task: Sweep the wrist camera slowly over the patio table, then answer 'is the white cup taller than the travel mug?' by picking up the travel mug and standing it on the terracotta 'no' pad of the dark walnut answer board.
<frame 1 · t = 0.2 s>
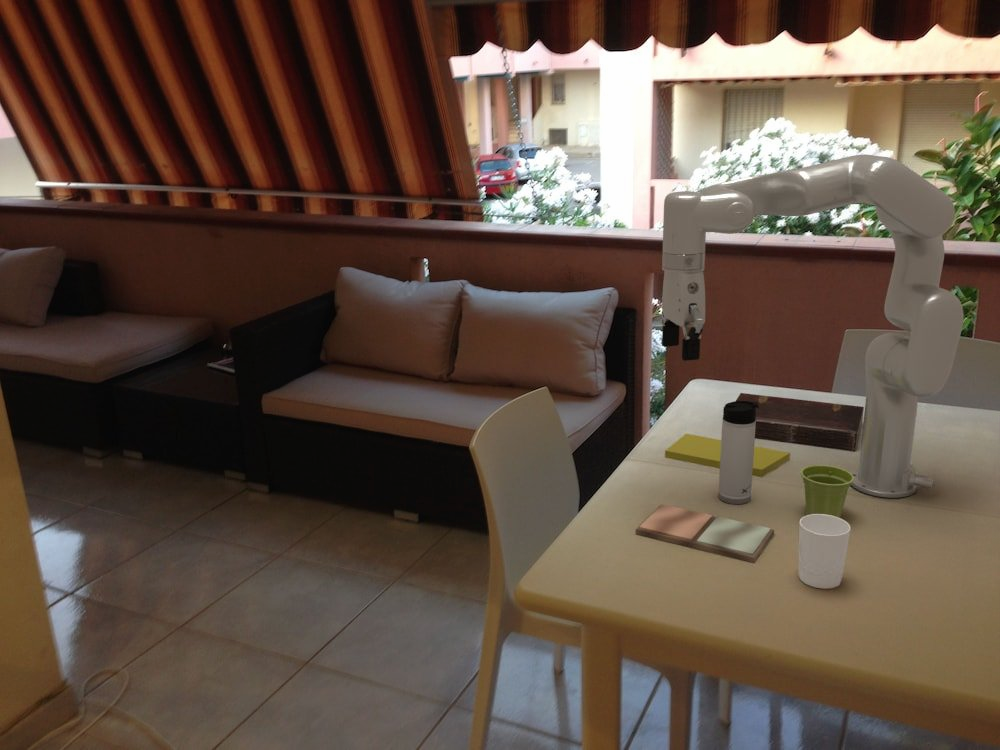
hand: (680, 352, 173), 31 cm above the table, tool pointing down, fingers open, 9 cm apart
answer board: (704, 534, 170), on the table
flat olive board: (726, 461, 205), on the table
travel mug: (735, 499, 185), on the table
white cup: (819, 580, 155), on the table
hardback book: (793, 432, 221), on the table
plant pot: (823, 517, 177), on the table
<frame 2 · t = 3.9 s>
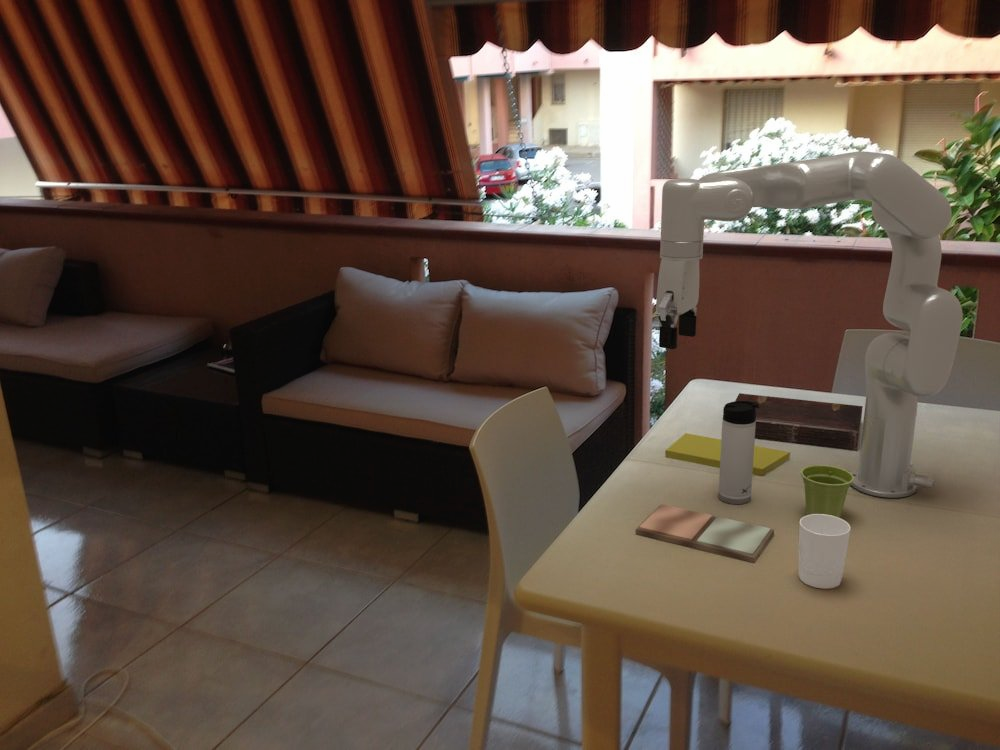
hand: (677, 341, 172), 33 cm above the table, tool pointing down, fingers open, 9 cm apart
nothing on the table moved.
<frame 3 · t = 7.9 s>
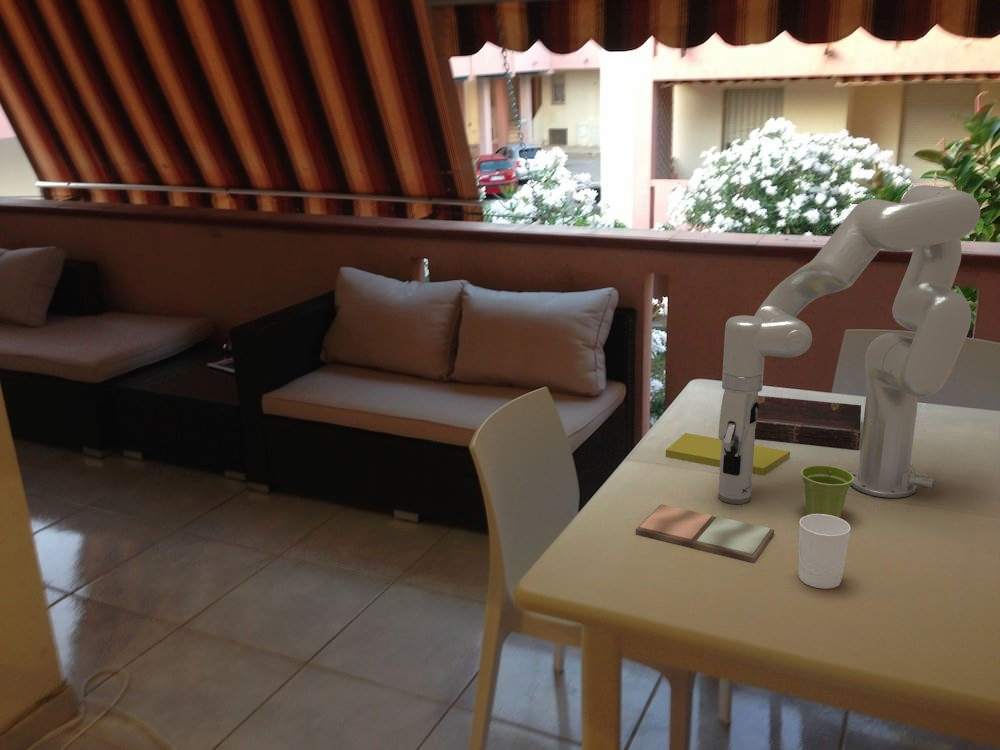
hand: (737, 467, 183), 7 cm above the table, tool pointing down, fingers closed on travel mug, 6 cm apart
travel mug: (735, 498, 185), on the table, touching gripper
everything else where it was.
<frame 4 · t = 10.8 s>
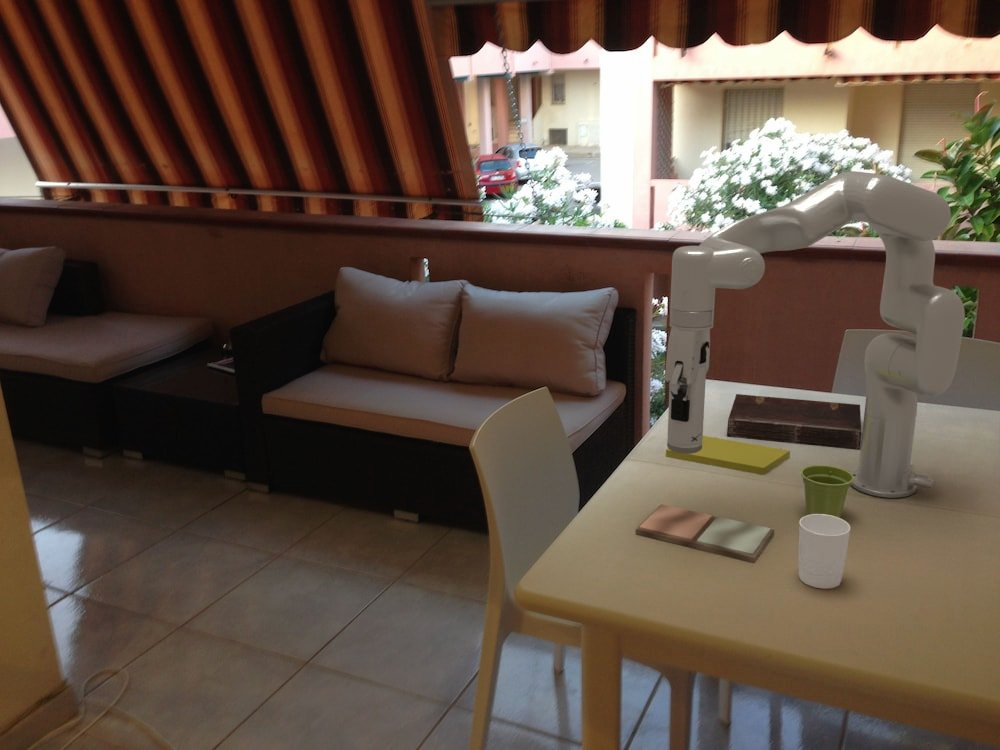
hand: (687, 413, 168), 22 cm above the table, tool pointing down, fingers closed on travel mug, 6 cm apart
travel mug: (685, 448, 170), point 15 cm above the table, touching gripper
everything else where it was.
when the fingers open (9 cm above the table, at t = 13.9 s): travel mug stays where it is, resting on answer board.
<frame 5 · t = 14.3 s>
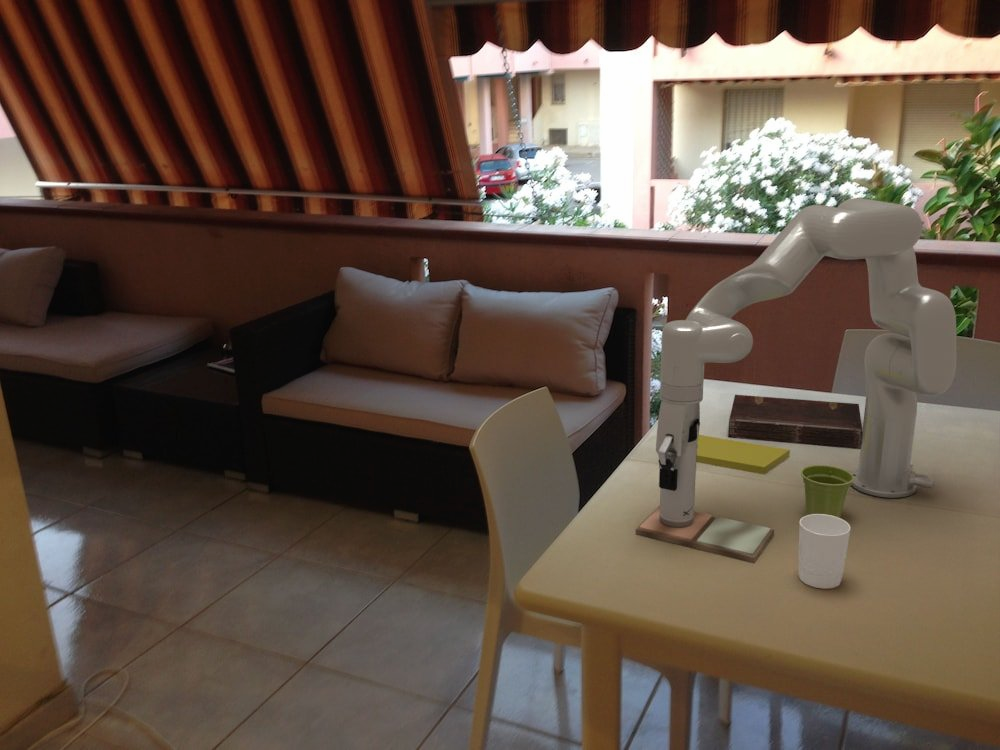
hand: (677, 479, 170), 10 cm above the table, tool pointing down, fingers open, 9 cm apart
travel mug: (677, 521, 173), point 1 cm above the table, touching answer board
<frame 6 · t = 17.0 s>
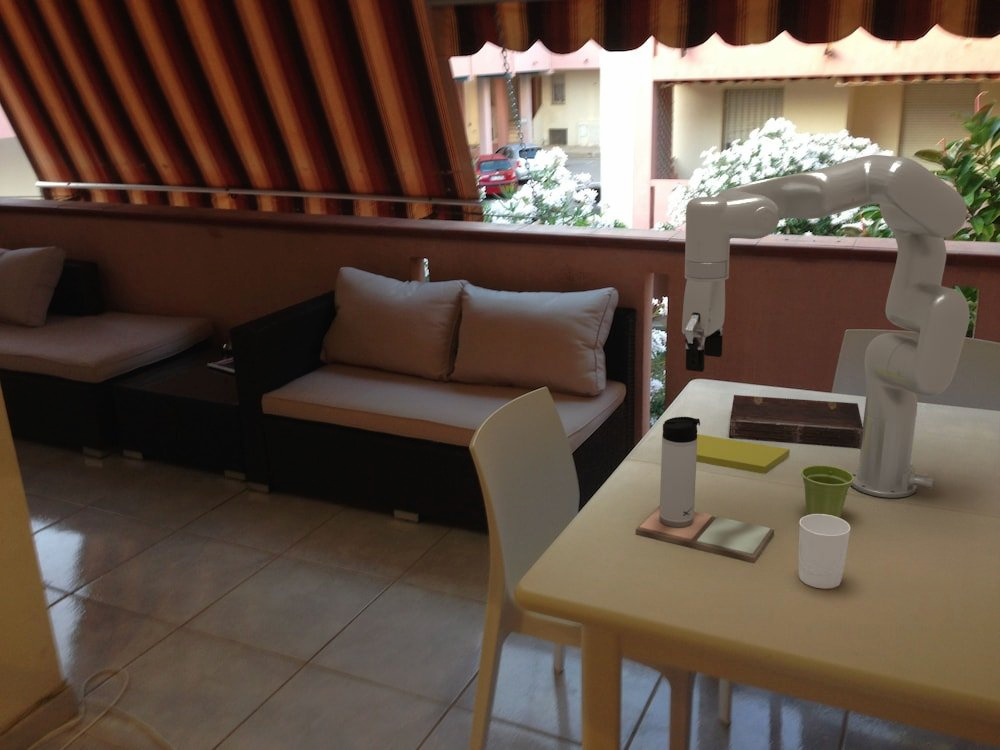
hand: (704, 363, 168), 31 cm above the table, tool pointing down, fingers open, 9 cm apart
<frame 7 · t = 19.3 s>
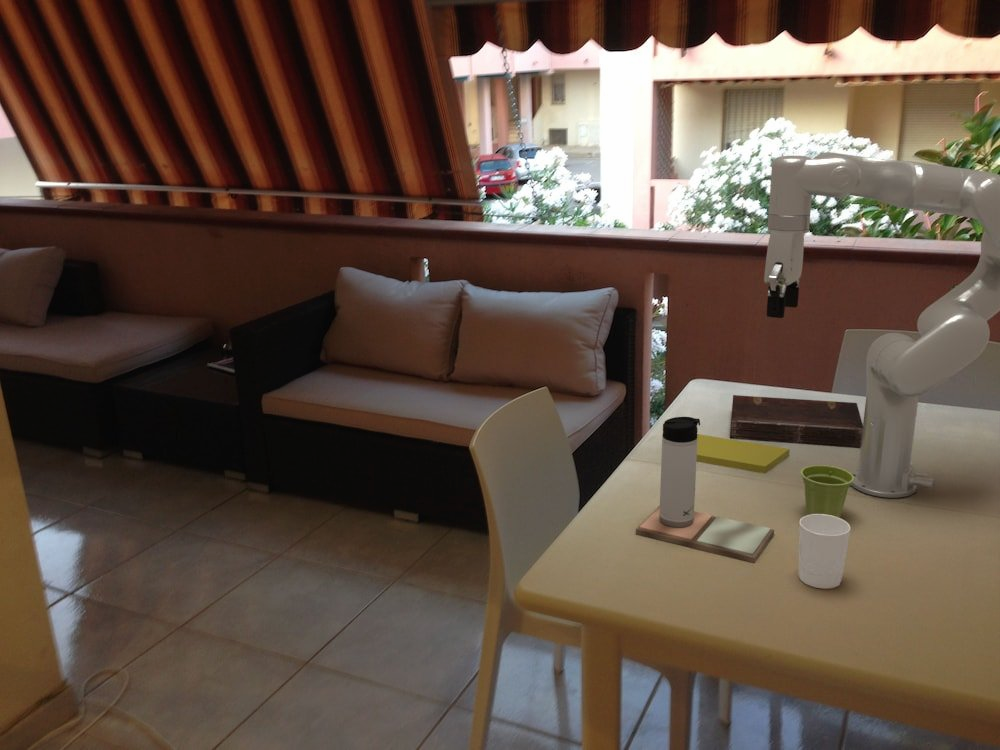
hand: (782, 311, 180), 36 cm above the table, tool pointing down, fingers open, 9 cm apart
at the end: travel mug inside the target area on the answer board (0.2 cm from its centre), point 1.2 cm above the answer board's base; travel mug tilted 0°; the gripper is holding nothing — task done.
